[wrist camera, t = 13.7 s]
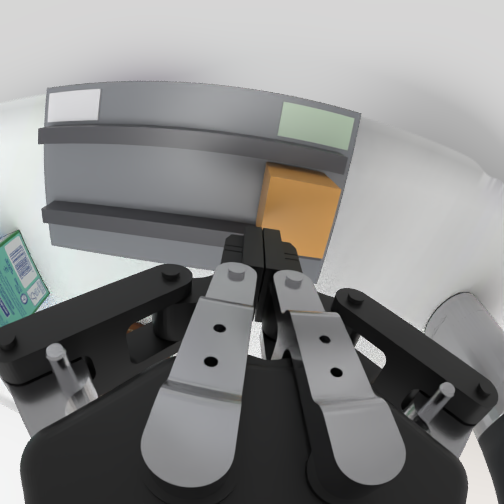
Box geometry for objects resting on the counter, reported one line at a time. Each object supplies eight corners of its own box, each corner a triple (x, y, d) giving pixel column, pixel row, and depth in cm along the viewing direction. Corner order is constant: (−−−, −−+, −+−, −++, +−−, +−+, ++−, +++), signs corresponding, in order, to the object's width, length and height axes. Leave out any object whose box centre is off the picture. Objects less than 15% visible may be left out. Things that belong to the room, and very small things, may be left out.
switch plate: (344, 112, 21) (372, 114, 16) (308, 260, 28) (321, 298, 22) (72, 87, 19) (32, 88, 14) (71, 227, 26) (40, 255, 21)
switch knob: (323, 172, 19) (341, 189, 16) (309, 229, 21) (322, 258, 18) (266, 161, 19) (270, 176, 15) (255, 221, 21) (257, 249, 17)
